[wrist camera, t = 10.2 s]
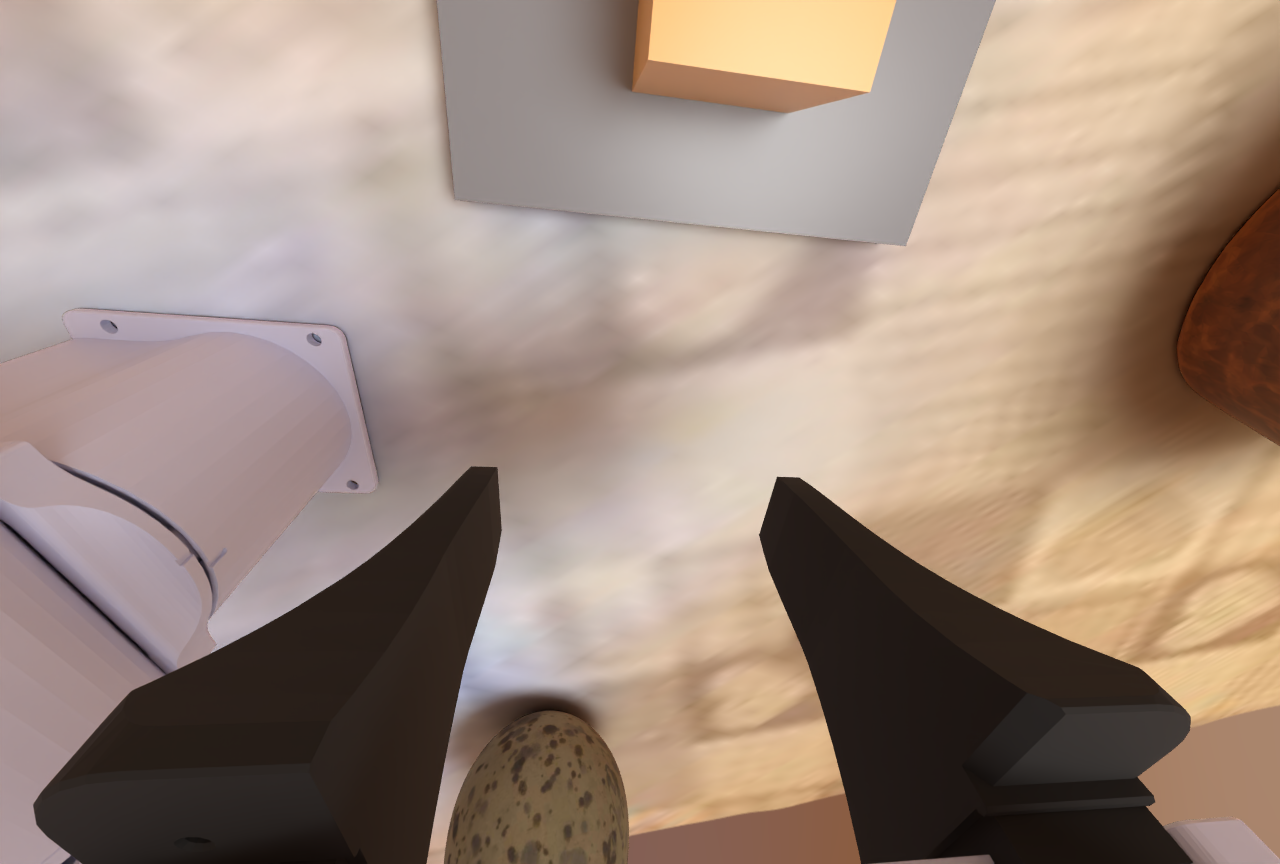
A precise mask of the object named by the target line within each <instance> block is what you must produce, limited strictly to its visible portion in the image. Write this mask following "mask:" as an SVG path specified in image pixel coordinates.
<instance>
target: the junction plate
mask: <svg viewBox="0 0 1280 864" xmlns="http://www.w3.org/2000/svg"><path fill="white" fill-rule="evenodd" d="M995 1H996V0H896V3H895V7H894V10H893V14H892V17H891V21H890V24H889V28H888V31H887V35H886V38H885V42H884V45H883V49H882V52H881V56H880V59H879V63H878V66H877V70H876V73H875V77H874V80H873V84H872V87H871V91H870V92H869V93H866V94H862V95H858V96H854V97H850V98H846V99H842V100H838V101H834V102H830V103H827V104H823V105H819V106H815V107H811V108H807V109H803V110H799V111H795V112H792V113H783V112H776V111H769V110H761V109H754V108H747V107H740V106H732V105H725V104H718V103H710V102H703V101H696V100H689V99H681V98H674V97H667V96H659V95H652V94H645V93H638V92H632V83H633V70H634V56H635V43H636V29H637V16H638V3H639V0H437V9H438V20H439V31H440V42H441V53H442V64H443V75H444V86H445V97H446V108H447V119H448V130H449V141H450V152H451V163H452V174H453V185H454V196H455V200H462V201H472V202H482V203H491V204H501V205H511V206H520V207H530V208H540V209H550V210H559V211H569V212H579V213H589V214H598V215H608V216H618V217H627V218H637V219H647V220H657V221H666V222H676V223H686V224H696V225H705V226H715V227H725V228H734V229H744V230H754V231H764V232H773V233H783V234H793V235H803V236H812V237H822V238H832V239H841V240H851V241H861V242H871V243H880V244H890V245H900V246H906V244H907V241H908V239H909V236H910V233H911V230H912V228H913V225H914V222H915V219H916V217H917V214H918V211H919V209H920V206H921V203H922V200H923V198H924V195H925V192H926V189H927V187H928V184H929V181H930V179H931V176H932V173H933V170H934V168H935V165H936V162H937V159H938V157H939V154H940V151H941V149H942V146H943V143H944V140H945V138H946V135H947V132H948V129H949V127H950V124H951V121H952V119H953V116H954V113H955V110H956V108H957V105H958V102H959V99H960V97H961V94H962V91H963V89H964V86H965V83H966V80H967V78H968V75H969V72H970V69H971V67H972V64H973V61H974V59H975V56H976V53H977V50H978V48H979V45H980V42H981V39H982V37H983V34H984V31H985V29H986V26H987V23H988V20H989V18H990V15H991V12H992V9H993V7H994V4H995Z"/></svg>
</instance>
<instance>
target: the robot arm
mask: <svg viewBox="0 0 1280 864" xmlns="http://www.w3.org/2000/svg"><path fill="white" fill-rule="evenodd" d="M62 320H63V323H64V325H65V327H66V329H67V331H68V332H69V334H70V336H71V338H72V340H69V341H66V342H63V343H60V344H57V345H54V346H51V347H48V348H45V349H42V350H39V351H36V352H33V353H30V354H27V355H24V356H21V357H18V358H15V359H12V360H9V361H6V362H3V363H0V864H426V863H427V857H428V851H429V845H430V840H431V834H432V828H433V822H434V817H435V811H436V806H437V800H438V795H439V789H440V784H441V779H442V773H443V768H444V762H445V757H446V752H447V747H448V742H449V737H450V732H451V727H452V722H453V717H454V712H455V708H456V703H457V698H458V693H459V689H460V684H461V679H462V674H463V670H464V666H465V663H466V659H467V655H468V652H469V648H470V645H471V642H472V639H473V636H474V633H475V629H476V626H477V623H478V620H479V617H480V614H481V610H482V607H483V604H484V601H485V598H486V595H487V591H488V588H489V585H490V582H491V578H492V575H493V572H494V569H495V564H496V559H497V554H498V548H499V542H500V537H501V531H502V529H501V514H500V499H499V484H498V469H497V467H471V468H469V469H468V470H467V471H466V472H465V473H464V474H463V475H462V476H461V477H460V478H459V479H458V480H457V481H456V482H455V483H454V484H453V485H452V486H451V487H450V488H449V489H448V490H447V491H446V492H445V493H444V494H443V495H442V496H441V497H440V498H439V499H438V500H437V501H436V502H435V503H434V504H433V505H432V506H431V507H430V508H429V509H428V510H427V511H426V512H425V513H423V514H422V515H421V516H420V517H419V518H418V519H417V520H416V521H415V522H414V523H413V524H411V525H410V526H409V527H408V528H407V529H406V530H404V531H403V532H402V533H401V534H400V535H399V536H397V537H396V538H395V539H394V540H393V541H391V542H390V543H389V544H388V545H387V546H386V547H384V548H383V549H382V550H380V551H379V552H378V553H377V554H375V555H374V556H373V557H371V558H370V559H369V560H368V561H366V562H365V563H363V564H362V565H361V566H359V567H358V568H356V569H355V570H354V571H352V572H351V573H349V574H348V575H346V576H345V577H344V578H342V579H341V580H339V581H338V582H336V583H334V584H333V585H331V586H330V587H328V588H326V589H325V590H323V591H322V592H320V593H318V594H317V595H315V596H314V597H312V598H310V599H309V600H307V601H306V602H304V603H302V604H301V605H299V606H298V607H296V608H294V609H293V610H291V611H289V612H288V613H286V614H284V615H282V616H280V617H279V618H277V619H275V620H273V621H272V622H270V623H268V624H266V625H264V626H263V627H261V628H259V629H257V630H255V631H253V632H251V633H250V634H248V635H246V636H244V637H242V638H240V639H238V640H236V641H235V642H233V643H231V644H229V645H227V646H225V647H223V648H221V649H219V650H217V651H215V652H213V653H211V651H212V650H213V649H214V648H215V646H216V643H215V641H214V640H213V639H212V637H211V636H210V634H209V632H208V628H207V623H208V620H209V619H210V618H211V617H212V615H213V614H214V613H215V612H216V611H217V610H218V608H219V607H220V606H221V605H222V604H223V602H224V601H225V600H226V599H227V598H228V597H229V595H230V594H231V593H232V592H233V591H234V589H235V588H236V587H237V586H238V585H239V584H240V582H241V581H242V580H243V579H244V578H245V576H246V575H247V574H248V573H249V572H250V571H251V569H252V568H253V567H254V566H255V565H256V563H257V562H258V561H259V560H260V559H261V558H262V556H263V555H264V554H265V553H266V552H267V550H268V549H269V548H270V547H271V546H272V545H273V543H274V542H275V541H276V540H277V539H278V537H279V536H280V535H281V534H282V533H283V532H284V530H285V529H286V528H287V527H288V526H289V524H290V523H291V522H292V521H293V520H294V519H295V517H296V516H297V515H298V514H299V513H300V511H301V510H302V509H303V508H304V507H305V506H306V504H307V503H308V502H309V501H310V500H311V498H312V497H313V496H314V495H315V494H316V493H317V492H335V493H371V492H373V491H374V490H375V489H376V487H377V486H378V482H379V481H378V477H377V472H376V468H375V464H374V459H373V455H372V451H371V446H370V442H369V437H368V433H367V429H366V424H365V420H364V416H363V411H362V407H361V402H360V398H359V394H358V389H357V385H356V381H355V376H354V372H353V367H352V363H351V359H350V354H349V350H348V346H347V341H346V338H345V335H344V334H343V333H342V331H341V330H340V329H338V328H336V327H334V326H330V325H316V324H301V323H286V322H272V321H257V320H242V319H228V318H213V317H198V316H184V315H169V314H154V313H140V312H125V311H110V310H95V309H81V308H80V309H73V310H70V311H67V312H65V313H64V314H63V317H62ZM110 321H111V322H113V323H114V324H115V325H116V326H117V328H118V329H116V328H115V327H113V325H112V324H111V322H110ZM312 333H314V334H317V335H318V336H319V337H320V338H321V340H322V342H321V343H319V342H317V341H315V340H314V339H313V337H312ZM351 480H352V481H355V482H357V483H358V485H357V484H354V483H352V482H351ZM759 536H760V540H761V544H762V548H763V552H764V555H765V559H766V562H767V566H768V569H769V572H770V574H771V577H772V579H773V581H774V584H775V586H776V588H777V591H778V593H779V596H780V598H781V600H782V603H783V605H784V607H785V609H786V612H787V614H788V616H789V619H790V621H791V623H792V626H793V628H794V630H795V633H796V635H797V637H798V639H799V642H800V644H801V646H802V649H803V652H804V654H805V657H806V659H807V662H808V665H809V668H810V671H811V674H812V677H813V680H814V683H815V686H816V690H817V693H818V696H819V699H820V702H821V706H822V709H823V712H824V716H825V719H826V723H827V726H828V730H829V733H830V737H831V740H832V744H833V747H834V751H835V755H836V759H837V763H838V767H839V770H840V774H841V778H842V782H843V786H844V790H845V794H846V797H847V801H848V806H849V811H850V815H851V819H852V824H853V828H854V832H855V837H856V842H857V846H858V850H859V855H860V860H861V864H1280V859H1279V858H1278V857H1277V856H1276V855H1275V854H1274V853H1273V852H1272V851H1271V850H1270V849H1269V848H1268V847H1267V846H1266V845H1265V844H1264V843H1263V842H1262V841H1261V840H1260V839H1259V838H1258V837H1257V836H1256V834H1255V833H1253V831H1251V830H1250V828H1249V827H1248V826H1247V825H1246V824H1244V822H1243V821H1242V820H1240V819H1237V818H1234V817H1221V818H1206V819H1193V820H1184V821H1177V822H1174V823H1171V824H1168V825H1165V826H1162V825H1161V824H1160V823H1159V821H1158V820H1157V819H1156V818H1155V817H1154V816H1153V814H1152V813H1151V812H1150V811H1149V810H1148V808H1147V807H1146V806H1150V805H1152V804H1153V803H1155V800H1154V796H1153V795H1152V793H1151V792H1150V791H1149V790H1148V789H1147V788H1146V787H1145V785H1144V784H1143V783H1142V782H1141V781H1140V780H1139V779H1138V776H1139V775H1140V774H1142V773H1143V772H1144V771H1146V770H1147V769H1148V768H1150V767H1151V766H1152V765H1153V764H1155V763H1156V762H1157V761H1159V760H1160V759H1161V758H1163V757H1164V756H1165V755H1166V754H1168V753H1169V752H1171V751H1172V750H1173V749H1174V748H1175V747H1176V746H1178V745H1179V744H1180V743H1181V742H1182V741H1183V740H1184V738H1185V737H1186V736H1187V734H1188V733H1189V731H1190V723H1191V718H1190V715H1189V714H1188V713H1187V711H1186V710H1185V709H1184V708H1183V707H1182V706H1181V705H1180V704H1179V703H1178V702H1177V701H1175V700H1174V699H1173V698H1172V697H1171V696H1170V695H1169V694H1168V693H1167V692H1166V691H1165V690H1164V689H1163V688H1161V687H1160V686H1159V685H1158V684H1157V683H1156V682H1155V681H1154V680H1153V679H1152V678H1151V677H1150V676H1149V675H1147V674H1146V673H1145V672H1144V671H1143V670H1141V669H1140V668H1138V667H1135V666H1133V665H1130V664H1128V663H1125V662H1123V661H1120V660H1118V659H1115V658H1113V657H1110V656H1107V655H1105V654H1102V653H1100V652H1097V651H1095V650H1092V649H1090V648H1087V647H1085V646H1082V645H1079V644H1077V643H1074V642H1072V641H1069V640H1067V639H1065V638H1062V637H1060V636H1058V635H1056V634H1053V633H1051V632H1049V631H1047V630H1044V629H1042V628H1040V627H1038V626H1035V625H1033V624H1031V623H1029V622H1026V621H1024V620H1022V619H1020V618H1018V617H1016V616H1014V615H1012V614H1010V613H1008V612H1005V611H1003V610H1001V609H999V608H997V607H995V606H993V605H992V604H990V603H988V602H986V601H984V600H982V599H980V598H978V597H976V596H974V595H972V594H970V593H968V592H967V591H965V590H963V589H961V588H959V587H957V586H956V585H954V584H952V583H950V582H949V581H947V580H945V579H943V578H942V577H940V576H938V575H937V574H935V573H933V572H932V571H930V570H928V569H927V568H925V567H923V566H922V565H920V564H919V563H917V562H915V561H914V560H912V559H911V558H909V557H908V556H906V555H905V554H903V553H902V552H900V551H899V550H897V549H896V548H894V547H893V546H891V545H890V544H888V543H887V542H886V541H884V540H883V539H881V538H880V537H878V536H877V535H876V534H874V533H873V532H872V531H870V530H869V529H867V528H866V527H865V526H863V525H862V524H861V523H859V522H858V521H857V520H855V519H854V518H853V517H851V516H850V515H849V514H847V513H846V512H845V511H844V510H842V509H841V508H840V507H838V506H837V505H836V504H834V503H833V502H832V501H831V500H829V499H828V498H827V497H825V496H824V495H823V494H821V493H820V492H819V491H817V490H816V489H815V488H813V487H812V486H811V485H809V484H808V483H806V482H805V481H803V480H802V479H800V478H795V477H777V479H776V482H775V485H774V489H773V492H772V495H771V498H770V502H769V505H768V508H767V511H766V515H765V518H764V521H763V524H762V528H761V531H760V534H759ZM210 653H211V654H210Z"/></svg>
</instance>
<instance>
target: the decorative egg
mask: <svg viewBox="0 0 1280 864" xmlns="http://www.w3.org/2000/svg"><path fill="white" fill-rule="evenodd" d="M628 846H629V822H628V809H627V801H626V795H625V790H624V785H623V781H622V778H621V775H620V771H619V769H618V766H617V764H616V761H615V759H614V757H613V755H612V753H611V751H610V750H609V748H608V746H607V745H606V743H605V742H604V741H603V739H602V738H601V737H600V735H599V734H598V733H597V732H596V731H595V730H594V729H593V728H592V727H591V726H590V725H588V724H587V723H586V722H584V721H583V720H581V719H580V718H578V717H576V716H574V715H571V714H568V713H565V712H561V711H540V712H535V713H532V714H529V715H526V716H524V717H522V718H520V719H518V720H516V721H514V722H513V723H511V724H510V725H508V726H507V727H506V728H504V729H503V730H502V731H501V732H500V733H499V734H497V735H496V736H495V737H494V738H493V739H492V740H491V741H490V743H489V744H488V745H487V746H486V747H485V748H484V750H483V751H482V752H481V754H480V755H479V756H478V758H477V759H476V761H475V763H474V764H473V766H472V768H471V769H470V771H469V773H468V775H467V777H466V779H465V781H464V783H463V785H462V788H461V790H460V792H459V795H458V798H457V801H456V804H455V807H454V810H453V813H452V817H451V821H450V826H449V830H448V836H447V842H446V848H445V857H444V864H627V861H628V848H629V847H628Z"/></svg>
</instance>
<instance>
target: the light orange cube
mask: <svg viewBox="0 0 1280 864" xmlns="http://www.w3.org/2000/svg"><path fill="white" fill-rule="evenodd" d="M895 3H896V0H639V3H638V16H637V29H636V43H635V56H634V70H633V83H632V92H638V93H645V94H652V95H659V96H667V97H674V98H681V99H689V100H696V101H703V102H710V103H718V104H725V105H732V106H740V107H747V108H754V109H761V110H769V111H776V112H783V113H792V112H795V111H799V110H803V109H807V108H811V107H815V106H819V105H823V104H827V103H830V102H834V101H838V100H842V99H846V98H850V97H854V96H858V95H862V94H866V93H869V92H870V91H871V87H872V84H873V80H874V77H875V73H876V70H877V66H878V63H879V59H880V56H881V52H882V49H883V45H884V42H885V38H886V35H887V31H888V28H889V24H890V21H891V17H892V14H893V10H894V7H895Z"/></svg>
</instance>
